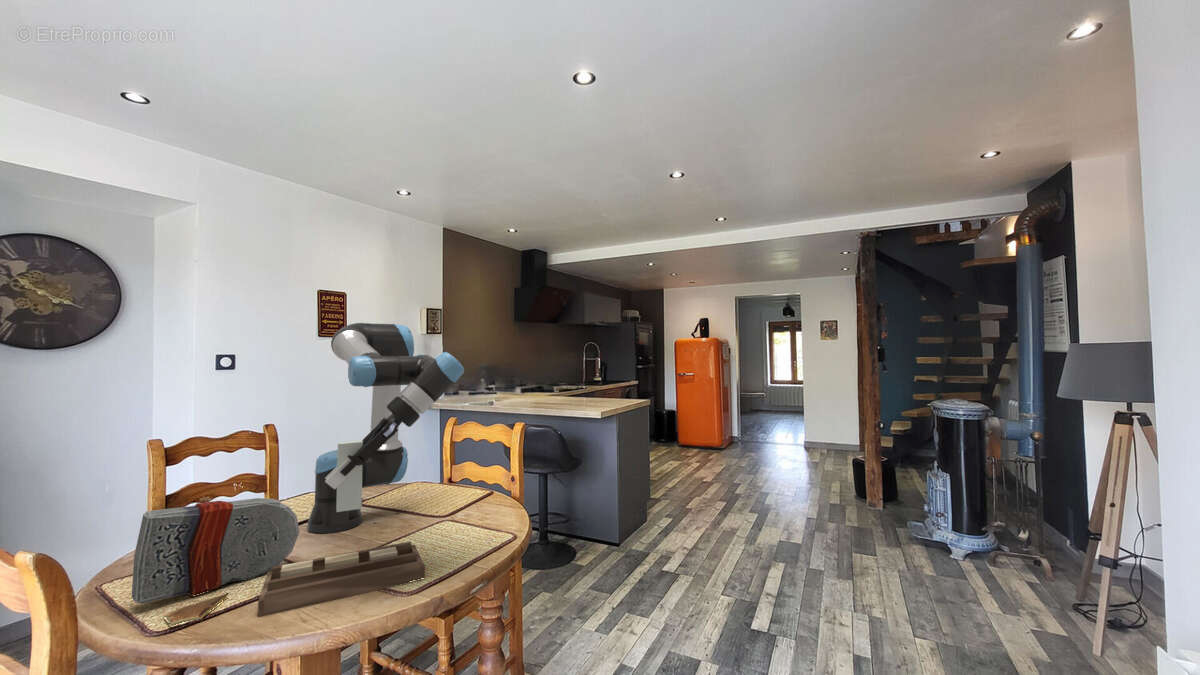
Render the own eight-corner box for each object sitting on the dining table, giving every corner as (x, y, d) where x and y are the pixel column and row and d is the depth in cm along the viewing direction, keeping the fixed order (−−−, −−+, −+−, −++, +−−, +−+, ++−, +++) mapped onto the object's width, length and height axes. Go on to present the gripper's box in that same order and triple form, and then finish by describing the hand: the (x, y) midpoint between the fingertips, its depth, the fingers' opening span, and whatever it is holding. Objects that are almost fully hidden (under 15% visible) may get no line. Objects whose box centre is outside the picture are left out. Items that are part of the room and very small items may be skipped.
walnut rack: (267, 585, 109) (267, 567, 109) (414, 556, 124) (414, 540, 125) (257, 616, 95) (258, 596, 95) (424, 579, 111) (424, 562, 111)
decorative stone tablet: (147, 514, 97) (305, 494, 121) (140, 508, 101) (295, 490, 125) (131, 613, 95) (296, 574, 119) (125, 604, 99) (286, 567, 122)
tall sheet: (336, 508, 107) (337, 442, 108) (360, 505, 110) (362, 440, 111) (336, 512, 105) (337, 444, 106) (361, 508, 107) (362, 442, 108)
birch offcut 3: (369, 570, 116) (369, 551, 117) (395, 564, 119) (395, 546, 120) (370, 576, 113) (370, 557, 113) (397, 570, 116) (397, 552, 116)
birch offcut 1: (281, 587, 108) (282, 565, 108) (312, 581, 111) (312, 559, 111) (279, 595, 104) (280, 571, 104) (311, 588, 107) (312, 566, 107)
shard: (228, 599, 103) (229, 590, 103) (240, 609, 99) (241, 601, 99) (162, 621, 95) (162, 612, 95) (172, 633, 90) (172, 624, 90)
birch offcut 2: (324, 579, 112) (325, 557, 112) (357, 572, 115) (358, 551, 116) (324, 586, 108) (324, 563, 109) (358, 578, 112) (358, 557, 112)
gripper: (427, 418, 109) (343, 502, 100) (416, 412, 123) (342, 486, 114) (402, 396, 107) (315, 480, 97) (394, 393, 121) (317, 466, 111)
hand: (330, 483), depth 106 cm, fingers closed on tall sheet, 3 cm apart
